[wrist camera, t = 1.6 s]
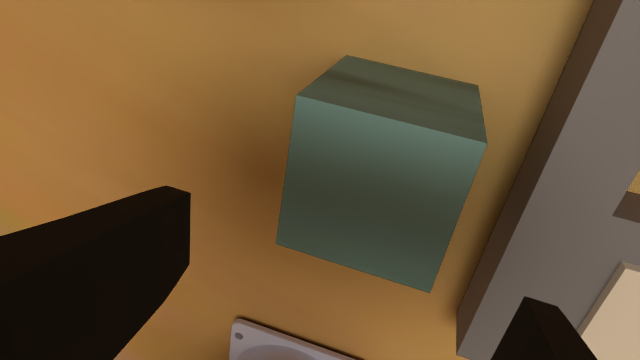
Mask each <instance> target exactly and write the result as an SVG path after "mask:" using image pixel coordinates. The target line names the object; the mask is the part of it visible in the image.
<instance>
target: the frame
mask: <svg viewBox="0 0 640 360" xmlns="http://www.w3.org/2000/svg"><path fill="white" fill-rule="evenodd" d="M639 169H640V0H594V2H593V5H592V7H591V9H590V11H589V14H588V16H587V18H586V20H585V23H584V25H583V27H582V30H581V32H580V34H579V36H578V39H577V41H576V43H575V45H574V48H573V50H572V52H571V55H570V57H569V59H568V61H567V64H566V66H565V68H564V70H563V73H562V75H561V77H560V80H559V82H558V84H557V86H556V89H555V91H554V93H553V95H552V98H551V100H550V102H549V105H548V107H547V109H546V111H545V114H544V116H543V118H542V120H541V123H540V125H539V127H538V130H537V132H536V134H535V136H534V139H533V141H532V143H531V145H530V148H529V150H528V152H527V155H526V157H525V159H524V161H523V164H522V166H521V168H520V170H519V173H518V175H517V177H516V180H515V182H514V184H513V186H512V189H511V191H510V193H509V195H508V198H507V200H506V202H505V205H504V207H503V209H502V211H501V214H500V216H499V218H498V220H497V223H496V225H495V227H494V230H493V232H492V234H491V236H490V239H489V241H488V243H487V246H486V248H485V250H484V252H483V255H482V257H481V259H480V261H479V264H478V266H477V268H476V271H475V273H474V275H473V277H472V280H471V282H470V284H469V286H468V289H467V291H466V293H465V296H464V298H463V300H462V302H461V305H460V307H459V309H458V311H457V328H456V355H458V356H461V357H464V358H467V359H470V360H491V358H492V356H493V354H494V352H495V350H496V349H497V347H498V345H499V343H500V341H501V339H502V337H503V335H504V334H505V332H506V330H507V328H508V326H509V324H510V322H511V320H512V319H513V317H514V315H515V313H516V311H517V309H518V307H519V305H520V303H521V302H522V300H523V298H524V296H526V297H529V298H533V299H536V300H539V301H542V302H546V303H549V304H552V305H555V306H558V307H559V309H560V310H561V311H562V312H563V314H564V315H565V316H566V317H567V319H568V320H569V321H570V323H571V324H572V325H573V327H574V328H575V329H576V331H577V332H578V334H579V335H580V336H581V338H582V339H583V340H584V342H585V343H586V344H587V346H588V347H589V349H590V350H591V351H592V353H593V354H594V355H595V357H596V358H597V359H598V360H640V195H639V194H635V193H631V192H627V190H628V188H629V186H630V185H631V183H632V181H633V179H634V178H635V176H636V174H637V173H638V171H639Z"/></svg>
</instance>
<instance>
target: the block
mask: <svg viewBox="0 0 640 360" xmlns="http://www.w3.org/2000/svg"><path fill="white" fill-rule="evenodd" d="M486 146H487V137H486V131H485V125H484V119H483V113H482V107H481V101H480V94H479V88H478V85H474V84H469V83H465V82H461V81H456V80H452V79H448V78H443V77H439V76H435V75H431V74H426V73H422V72H418V71H413V70H409V69H405V68H400V67H396V66H392V65H387V64H383V63H379V62H374V61H370V60H366V59H361V58H357V57H353V56H348V55H346V56H345V57H344V58H343V59H341V60H340V61H339V62H337V63H336V64H335V65H334V66H332V67H331V68H330V69H329V70H327V71H326V72H325V73H324V74H322V75H321V76H320V77H319V78H317V79H316V80H315V81H314V82H312V83H311V84H310V85H309V86H307V87H306V88H305V89H303V90H302V91H301V92H300V93H298V94H297V95H296V102H295V109H294V116H293V123H292V131H291V138H290V145H289V152H288V159H287V166H286V174H285V181H284V188H283V195H282V202H281V210H280V217H279V224H278V231H277V238H276V244H277V245H281V246H284V247H287V248H290V249H293V250H296V251H299V252H303V253H306V254H309V255H312V256H315V257H318V258H321V259H324V260H328V261H331V262H334V263H337V264H340V265H343V266H346V267H349V268H353V269H356V270H359V271H362V272H365V273H368V274H371V275H375V276H378V277H381V278H384V279H387V280H390V281H393V282H396V283H400V284H403V285H406V286H409V287H412V288H415V289H418V290H422V291H425V292H428V293H430V291H431V289H432V286H433V284H434V281H435V278H436V276H437V273H438V271H439V268H440V265H441V263H442V260H443V258H444V255H445V252H446V250H447V247H448V245H449V242H450V239H451V237H452V234H453V232H454V229H455V226H456V224H457V221H458V219H459V216H460V213H461V211H462V208H463V206H464V203H465V200H466V198H467V195H468V193H469V190H470V188H471V185H472V182H473V180H474V177H475V175H476V172H477V169H478V167H479V164H480V162H481V159H482V156H483V154H484V151H485V149H486Z"/></svg>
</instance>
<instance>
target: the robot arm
mask: <svg viewBox="0 0 640 360" xmlns="http://www.w3.org/2000/svg"><path fill="white" fill-rule="evenodd" d="M190 198H191V193H189V192H186V191H182V190H179V189H176V188H173V187H169V186H163V187H159V188H155V189H151V190H148V191H145V192H141V193H138V194H135V195H132V196H129V197H126V198H123V199H120V200H117V201H114V202H111V203H108V204H105V205H102V206H99V207H96V208H92V209H89V210H86V211H83V212H80V213H77V214H74V215H71V216H68V217H65V218H61V219H58V220H55V221H51V222H48V223H44V224H41V225H38V226H34V227H31V228H27V229H24V230H20V231H17V232H14V233H10V234H7V235H3V236H0V360H113V359H114V358H115V357H116V356H117V355H118V353H119V352H120V351H121V350H122V349H123V348H124V347H125V346H126V344H127V343H128V342H129V341H130V340H131V339H132V338H133V337H134V335H135V334H136V333H137V332H138V331H139V330H140V329H141V328H142V326H143V325H144V324H145V323H146V322H147V321H148V320H149V318H150V317H151V316H152V315H153V314H154V313H155V312H156V310H157V309H158V308H159V307H160V306H161V305H162V303H163V302H164V301H165V300H166V298H167V297H168V295H169V294H170V293H171V291H172V290H173V288H174V287H175V285H176V284H177V282H178V281H179V279H180V278H181V276H182V275H183V273H184V272H185V270H186V269H187V267H188V266H189V260H190ZM229 360H356V359H353V358H350V357H347V356H344V355H342V354H339V353H336V352H333V351H330V350H328V349H325V348H322V347H319V346H316V345H314V344H311V343H308V342H305V341H302V340H300V339H297V338H294V337H291V336H288V335H286V334H283V333H280V332H277V331H274V330H271V329H269V328H266V327H263V326H260V325H257V324H255V323H252V322H249V321H246V320H243V319H236V320H235V321H234V323H233V324H232V327H231V339H230V350H229ZM491 360H598V359H597V358H596V357H595V355H594V354H593V353H592V351H591V350H590V349H589V347H588V346H587V344H586V343H585V342H584V340H583V339H582V338H581V336H580V335H579V334H578V332H577V331H576V329H575V328H574V327H573V325H572V324H571V323H570V321H569V320H568V319H567V317H566V316H565V315H564V314H563V312H562V311H561V310H560V309H559V307H558V306H555V305H552V304H549V303H546V302H542V301H539V300H536V299H533V298H529V297H526V296H524V298H523V300H522V302H521V303H520V305H519V307H518V309H517V311H516V313H515V315H514V317H513V319H512V320H511V322H510V324H509V326H508V328H507V330H506V332H505V334H504V335H503V337H502V339H501V341H500V343H499V345H498V347H497V349H496V350H495V352H494V354H493V356H492V358H491Z"/></svg>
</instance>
